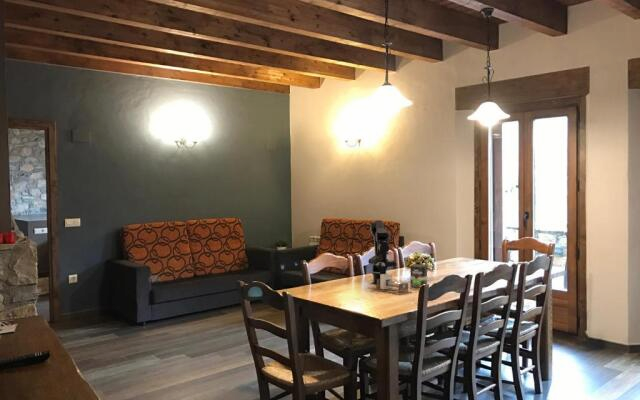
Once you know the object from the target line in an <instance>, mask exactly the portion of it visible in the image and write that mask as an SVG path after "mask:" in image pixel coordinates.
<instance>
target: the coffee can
mask: <svg viewBox="0 0 640 400" xmlns="http://www.w3.org/2000/svg"><path fill="white" fill-rule="evenodd" d="M409 267H410V281H409V283H410V285H409V286H410V289H411V290H415V291H416V290H417V291H420V290H419V288H420V286H421V285H423V284H427V285H428V265H427V264H422V263H421V264H420V263H418V264H417V263H416V264H415V263H413V264H410V266H409Z"/></svg>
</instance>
